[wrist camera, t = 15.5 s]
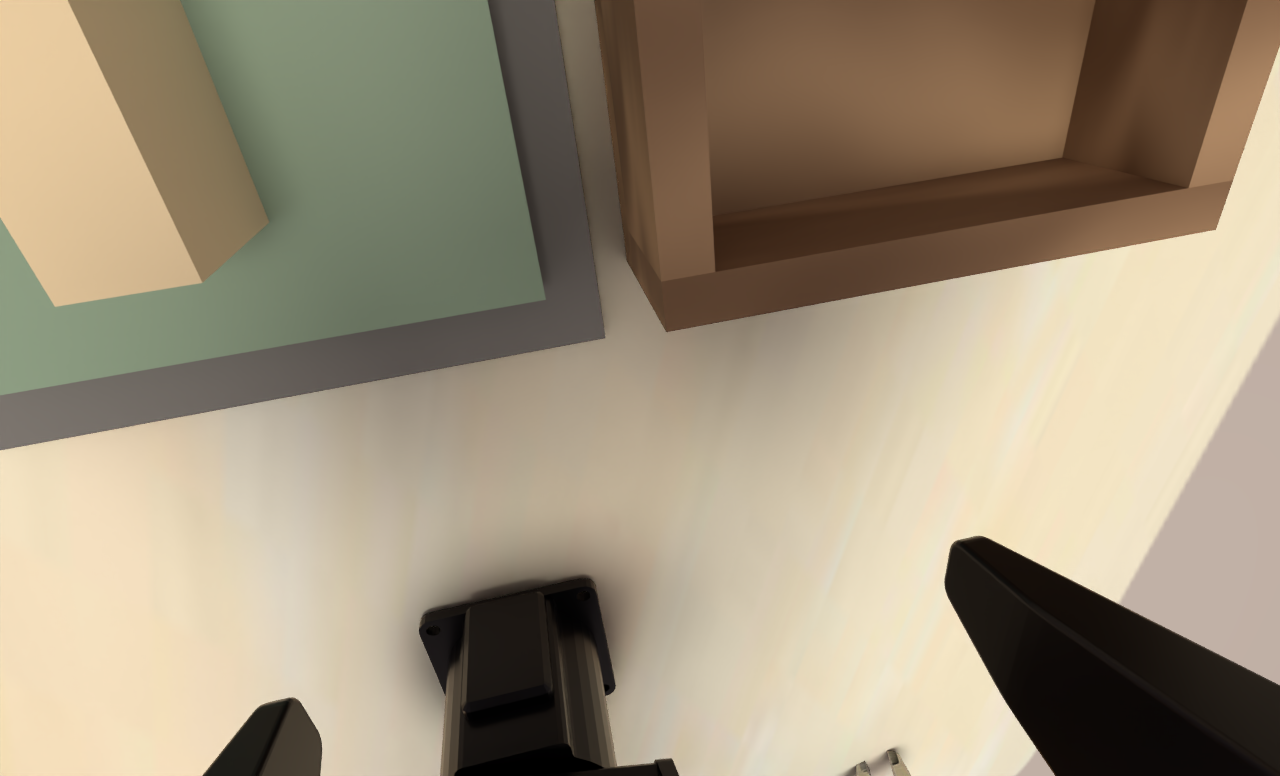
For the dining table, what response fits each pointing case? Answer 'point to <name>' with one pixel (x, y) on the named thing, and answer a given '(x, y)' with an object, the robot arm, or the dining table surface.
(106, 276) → the lid
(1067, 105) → the toolbox
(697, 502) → the dining table surface
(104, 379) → the mat
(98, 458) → the dining table surface
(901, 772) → the caliper
